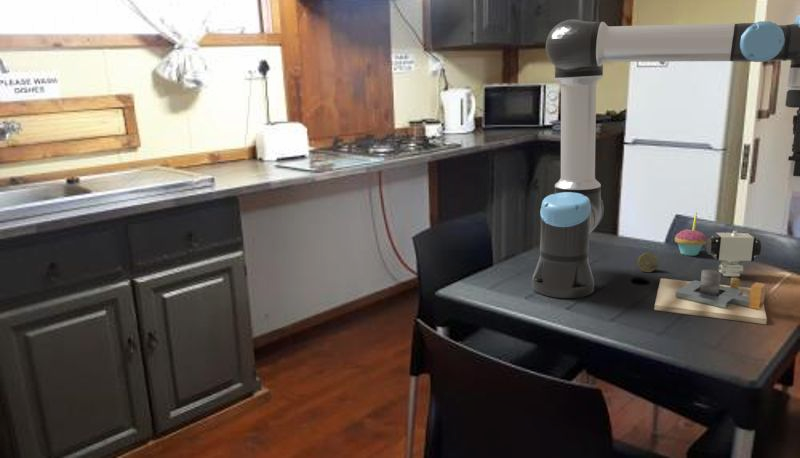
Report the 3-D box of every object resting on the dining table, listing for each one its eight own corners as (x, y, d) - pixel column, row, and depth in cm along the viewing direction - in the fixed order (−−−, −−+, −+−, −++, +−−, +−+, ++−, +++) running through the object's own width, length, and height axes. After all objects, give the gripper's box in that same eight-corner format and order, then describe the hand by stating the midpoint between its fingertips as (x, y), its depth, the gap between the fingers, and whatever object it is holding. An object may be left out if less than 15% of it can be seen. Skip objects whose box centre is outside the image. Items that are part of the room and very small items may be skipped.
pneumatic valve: (757, 279, 158) (763, 233, 155) (708, 277, 161) (712, 232, 158) (750, 272, 164) (755, 228, 161) (702, 270, 166) (707, 227, 163)
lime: (659, 272, 166) (661, 254, 165) (645, 274, 164) (646, 256, 163) (647, 267, 170) (649, 249, 169) (633, 269, 168) (634, 252, 167)
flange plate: (675, 296, 144) (677, 276, 143) (693, 284, 151) (695, 265, 150) (752, 314, 132) (755, 292, 131) (769, 300, 140) (771, 279, 139)
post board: (654, 309, 140) (656, 279, 138) (660, 282, 158) (662, 255, 156) (766, 324, 131) (770, 292, 129) (759, 293, 148) (763, 265, 146)
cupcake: (682, 247, 187) (685, 209, 184) (710, 253, 181) (714, 213, 178) (668, 253, 182) (671, 213, 179) (696, 259, 175) (700, 218, 172)
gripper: (831, 90, 121) (816, 196, 126) (826, 86, 142) (813, 177, 147) (786, 91, 125) (773, 194, 130) (787, 86, 146) (776, 175, 151)
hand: (794, 185), depth 139 cm, fingers open, 13 cm apart
